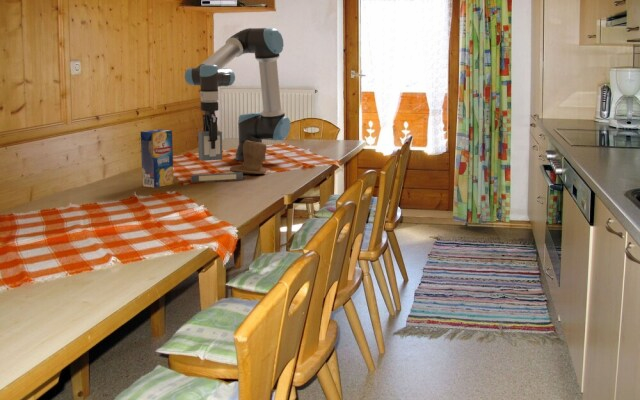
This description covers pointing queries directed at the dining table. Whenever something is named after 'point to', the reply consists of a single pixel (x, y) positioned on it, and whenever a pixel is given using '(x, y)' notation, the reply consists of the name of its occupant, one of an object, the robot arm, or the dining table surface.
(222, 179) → the rail
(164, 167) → the blue food box
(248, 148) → the brown piece
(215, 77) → the robot arm
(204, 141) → the slate carton
